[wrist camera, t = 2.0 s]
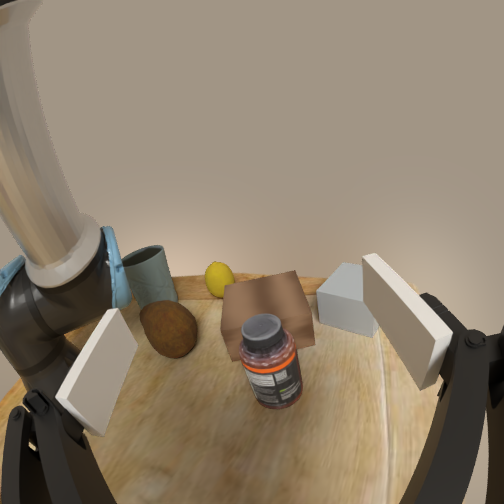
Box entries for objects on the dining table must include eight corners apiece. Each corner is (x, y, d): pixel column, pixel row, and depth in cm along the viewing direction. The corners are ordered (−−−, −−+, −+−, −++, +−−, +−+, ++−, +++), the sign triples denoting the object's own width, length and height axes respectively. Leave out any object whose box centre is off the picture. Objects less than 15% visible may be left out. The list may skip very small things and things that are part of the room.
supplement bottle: (274, 368, 34) (256, 301, 30) (312, 383, 30) (303, 314, 26) (245, 398, 30) (219, 333, 26) (284, 418, 26) (267, 354, 22)
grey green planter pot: (136, 323, 51) (112, 272, 46) (142, 298, 60) (123, 253, 55) (182, 310, 52) (160, 257, 48) (182, 287, 61) (164, 240, 57)
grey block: (319, 322, 40) (316, 290, 38) (344, 292, 46) (343, 262, 44) (372, 337, 34) (374, 304, 32) (392, 302, 40) (393, 270, 37)
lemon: (206, 304, 53) (194, 268, 50) (221, 289, 57) (210, 255, 54) (230, 307, 50) (218, 269, 47) (243, 291, 54) (233, 255, 51)
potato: (187, 318, 49) (171, 278, 46) (215, 349, 40) (196, 304, 36) (148, 337, 46) (128, 298, 42) (167, 375, 36) (142, 331, 33)
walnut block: (232, 361, 37) (220, 330, 34) (233, 313, 48) (224, 285, 46) (315, 344, 36) (311, 312, 34) (299, 299, 47) (295, 270, 45)
